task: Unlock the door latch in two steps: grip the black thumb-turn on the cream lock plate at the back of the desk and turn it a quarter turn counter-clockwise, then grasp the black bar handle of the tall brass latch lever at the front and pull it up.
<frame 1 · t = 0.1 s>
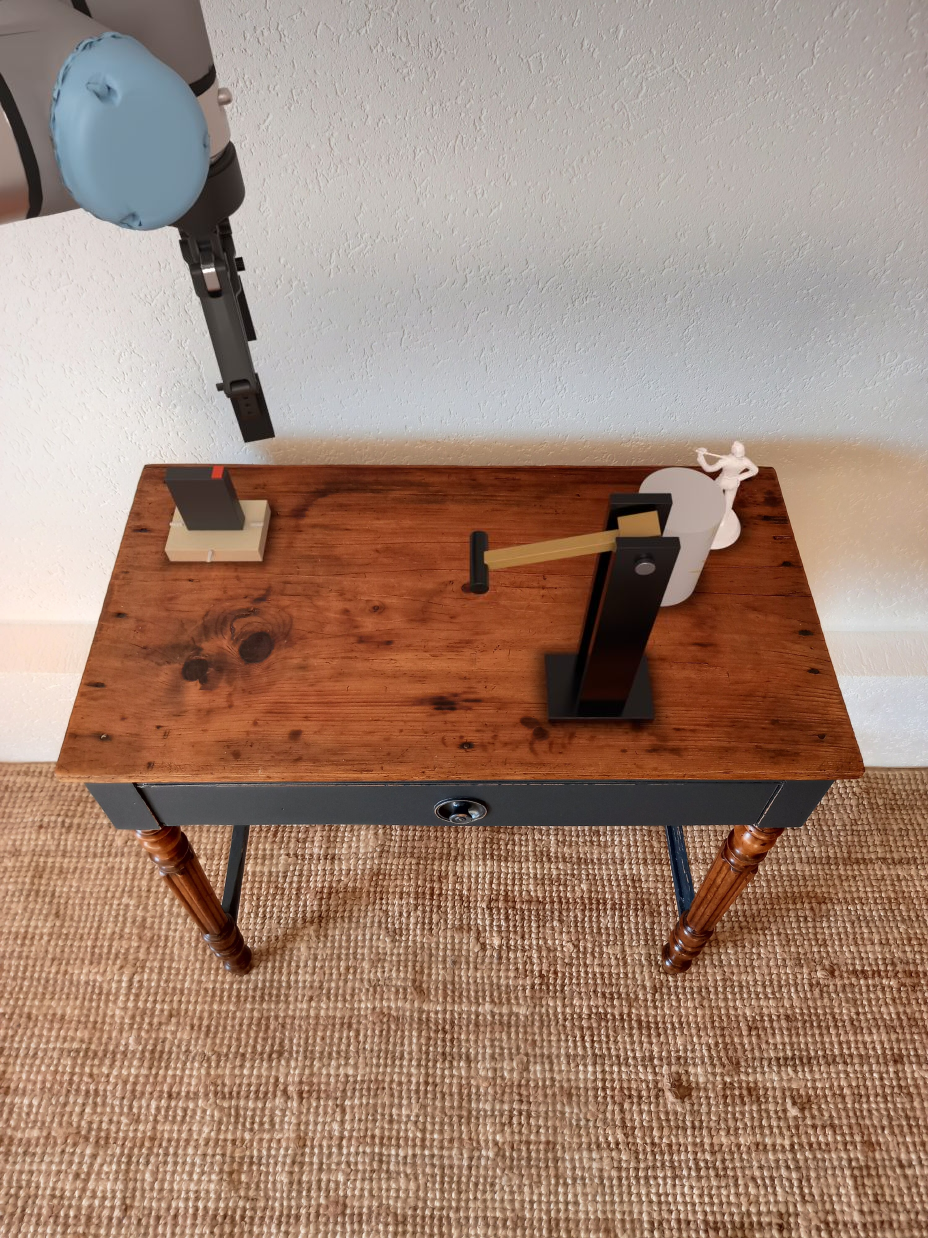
hand: (250, 386, 74), 19 cm above the table, tool pointing down, fingers open, 13 cm apart
thumbturn: (206, 498, 84), point 6 cm above the table, hinge at 0.0°
latch lever: (562, 548, 59), point 23 cm above the table, hinge at -15.0°
lock plate: (221, 536, 89), on the table
figurine: (707, 525, 89), on the table
latch bracket: (596, 691, 78), on the table
light grey cylinder: (657, 575, 85), on the table
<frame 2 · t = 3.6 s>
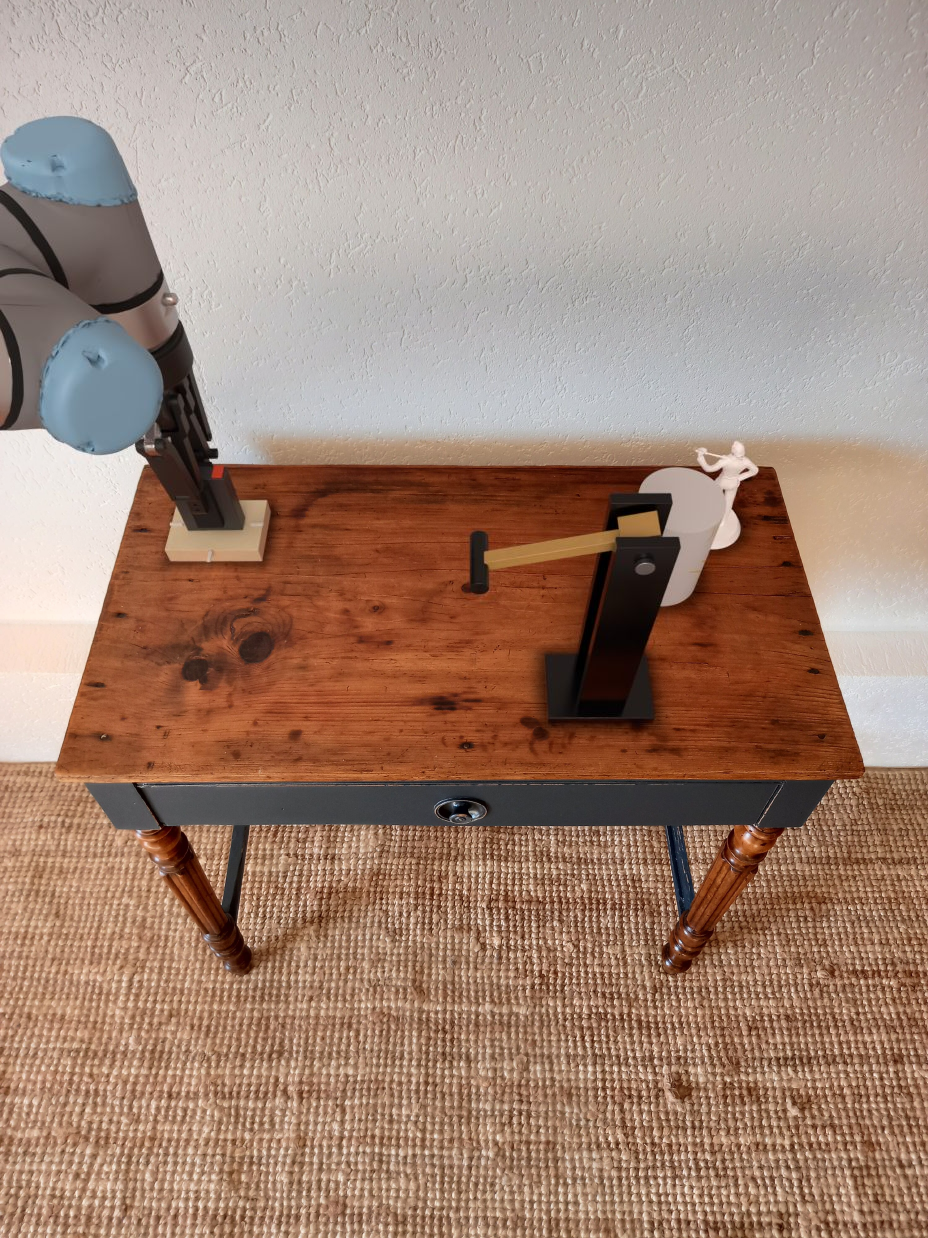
hand: (213, 515, 86), 3 cm above the table, tool pointing down, fingers closed on thumbturn, 2 cm apart
thumbturn: (206, 498, 84), point 6 cm above the table, hinge at 0.9°, touching gripper
everything else where it was.
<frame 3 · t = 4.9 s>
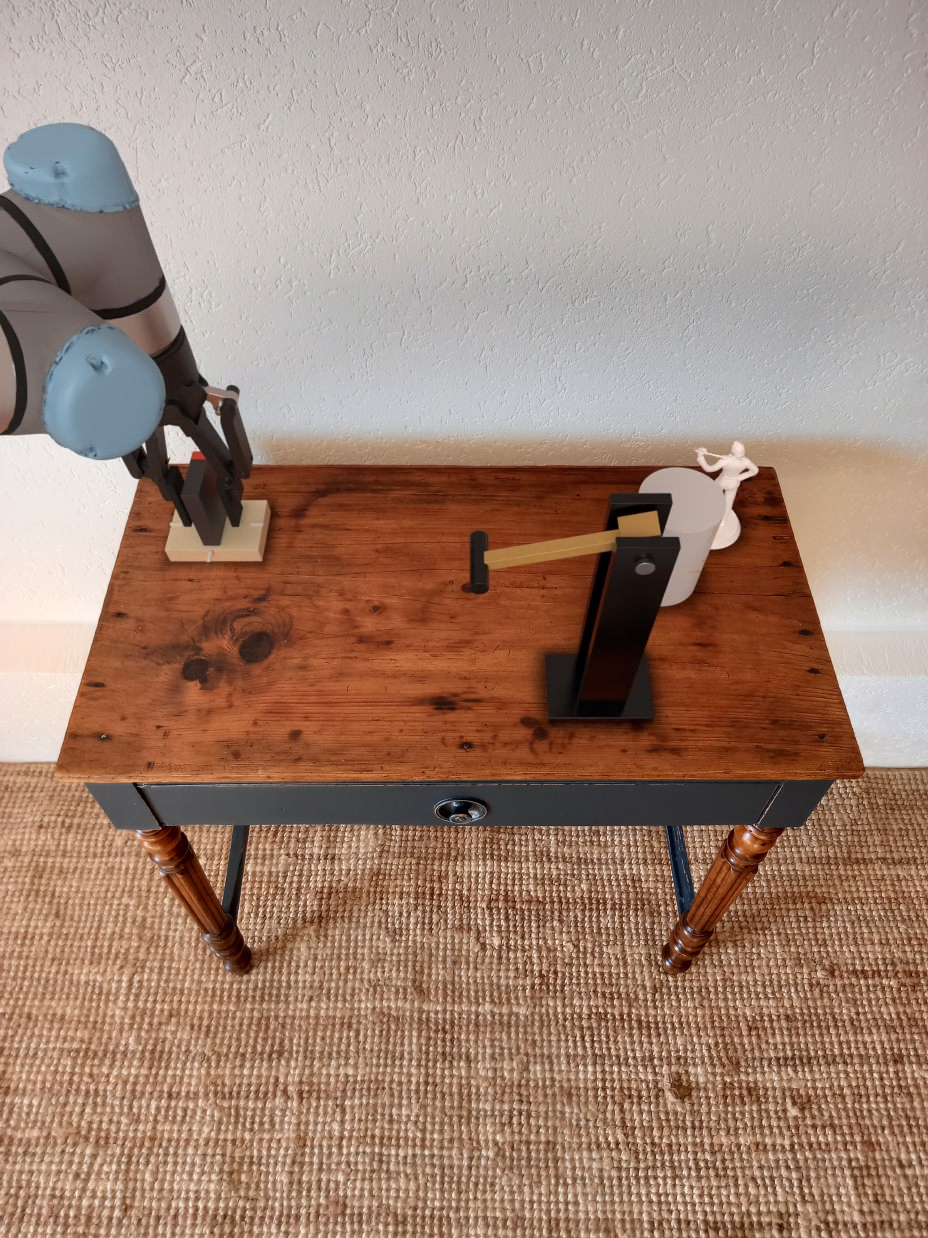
hand: (213, 516, 86), 3 cm above the table, tool pointing down, fingers open, 4 cm apart
thumbturn: (206, 498, 84), point 6 cm above the table, hinge at 89.5°
everything else where it was.
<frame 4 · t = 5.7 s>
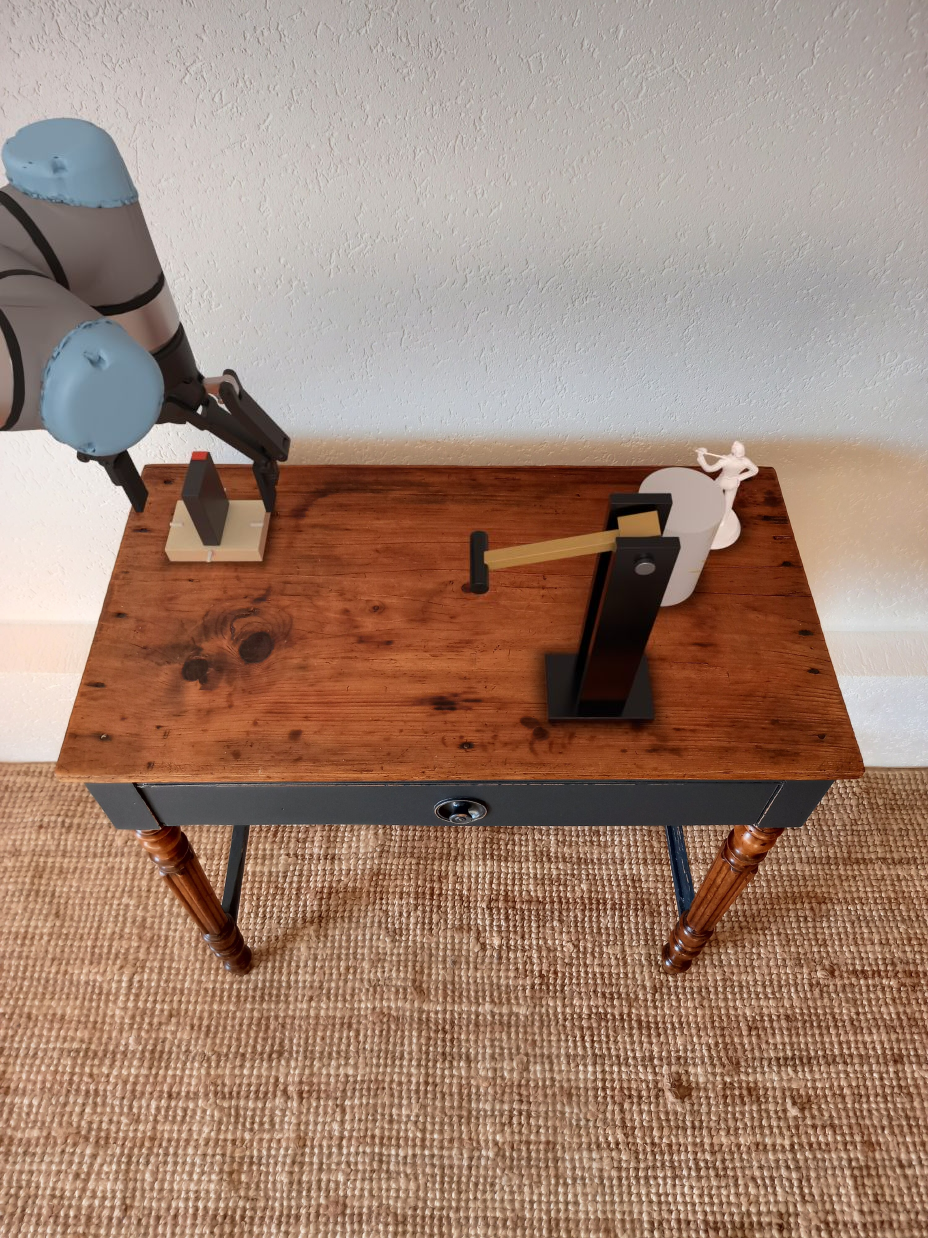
hand: (207, 503, 84), 6 cm above the table, tool pointing down, fingers open, 13 cm apart
nothing on the table moved.
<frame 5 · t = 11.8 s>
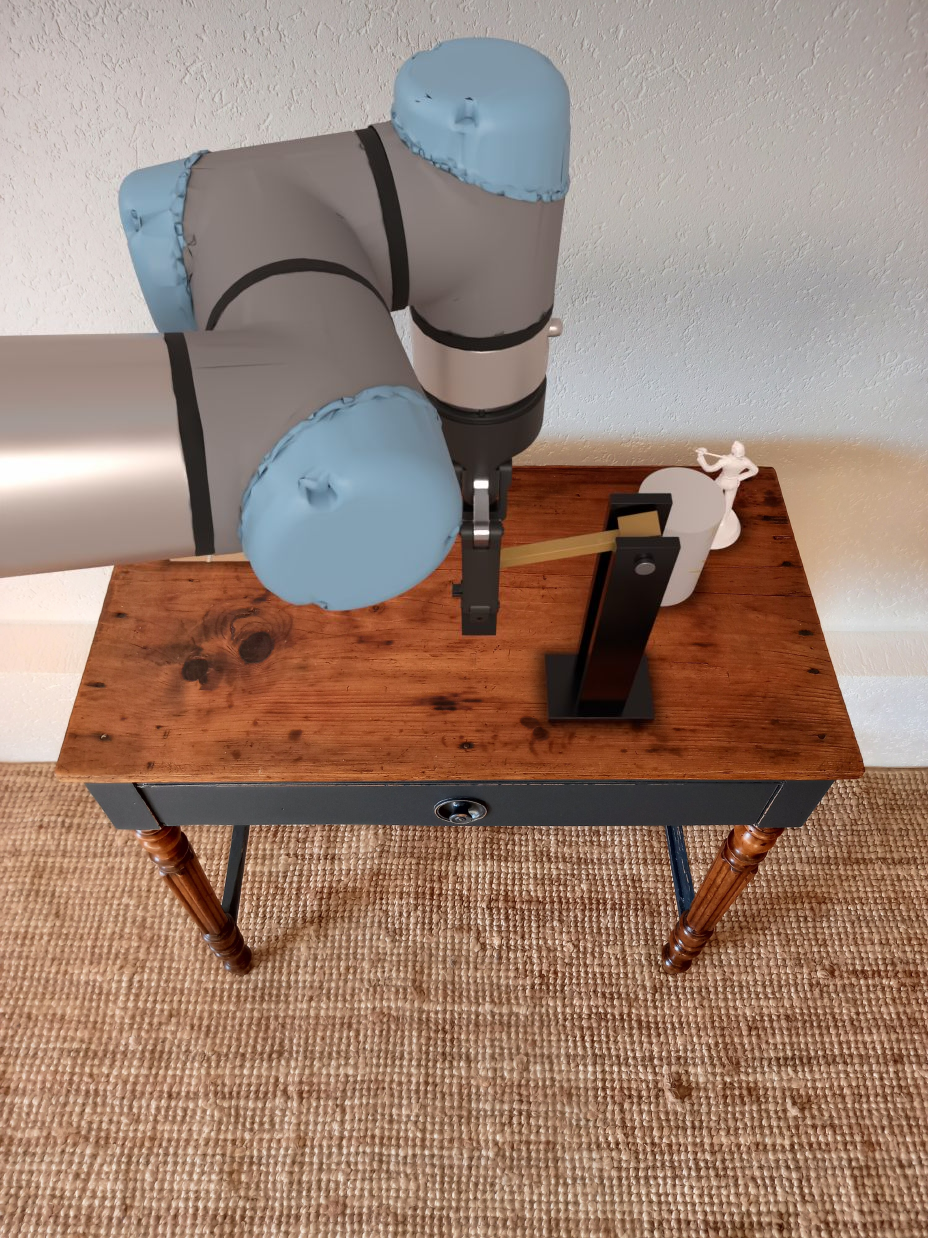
hand: (478, 601, 65), 16 cm above the table, tool pointing down, fingers closed on latch lever, 5 cm apart
latch lever: (562, 548, 59), point 23 cm above the table, hinge at -15.0°, touching gripper
everything else where it was.
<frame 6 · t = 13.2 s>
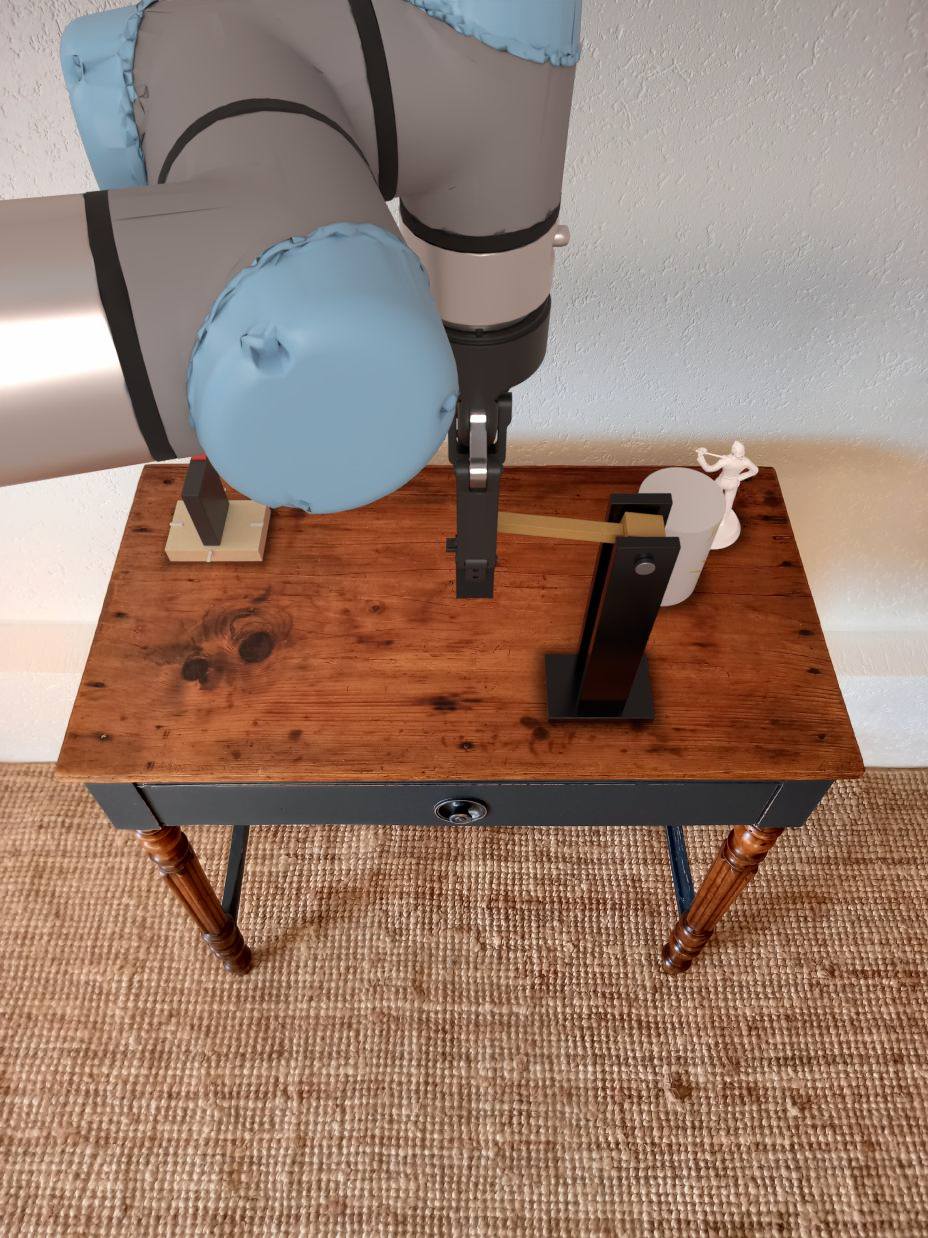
hand: (474, 562, 60), 21 cm above the table, tool pointing down, fingers closed on latch lever, 5 cm apart
latch lever: (563, 528, 57), point 25 cm above the table, hinge at 8.9°, touching gripper
everything else where it was.
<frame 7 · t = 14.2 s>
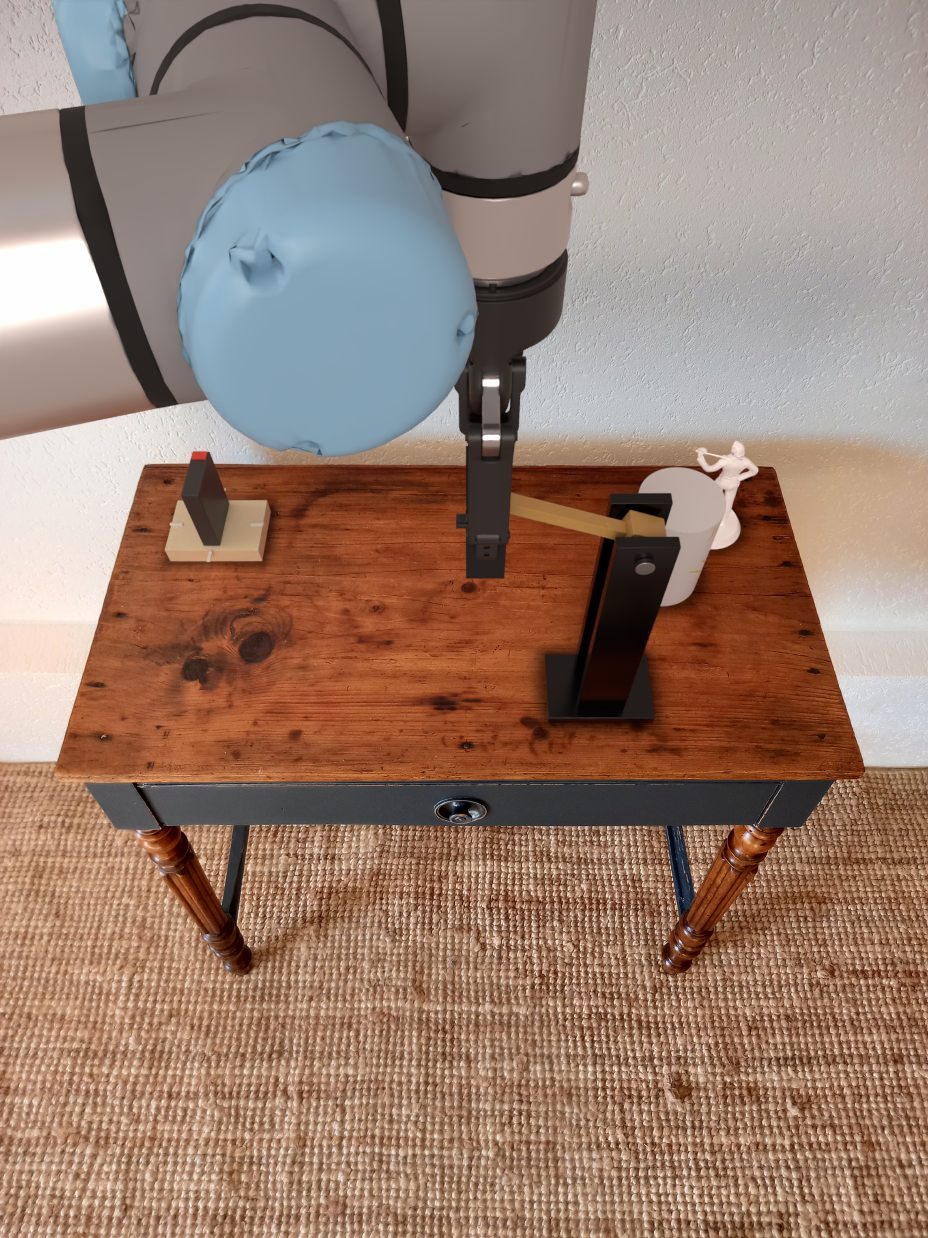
hand: (484, 541, 58), 23 cm above the table, tool pointing down, fingers closed on latch lever, 5 cm apart
latch lever: (569, 518, 56), point 26 cm above the table, hinge at 20.6°, touching gripper
everything else where it was.
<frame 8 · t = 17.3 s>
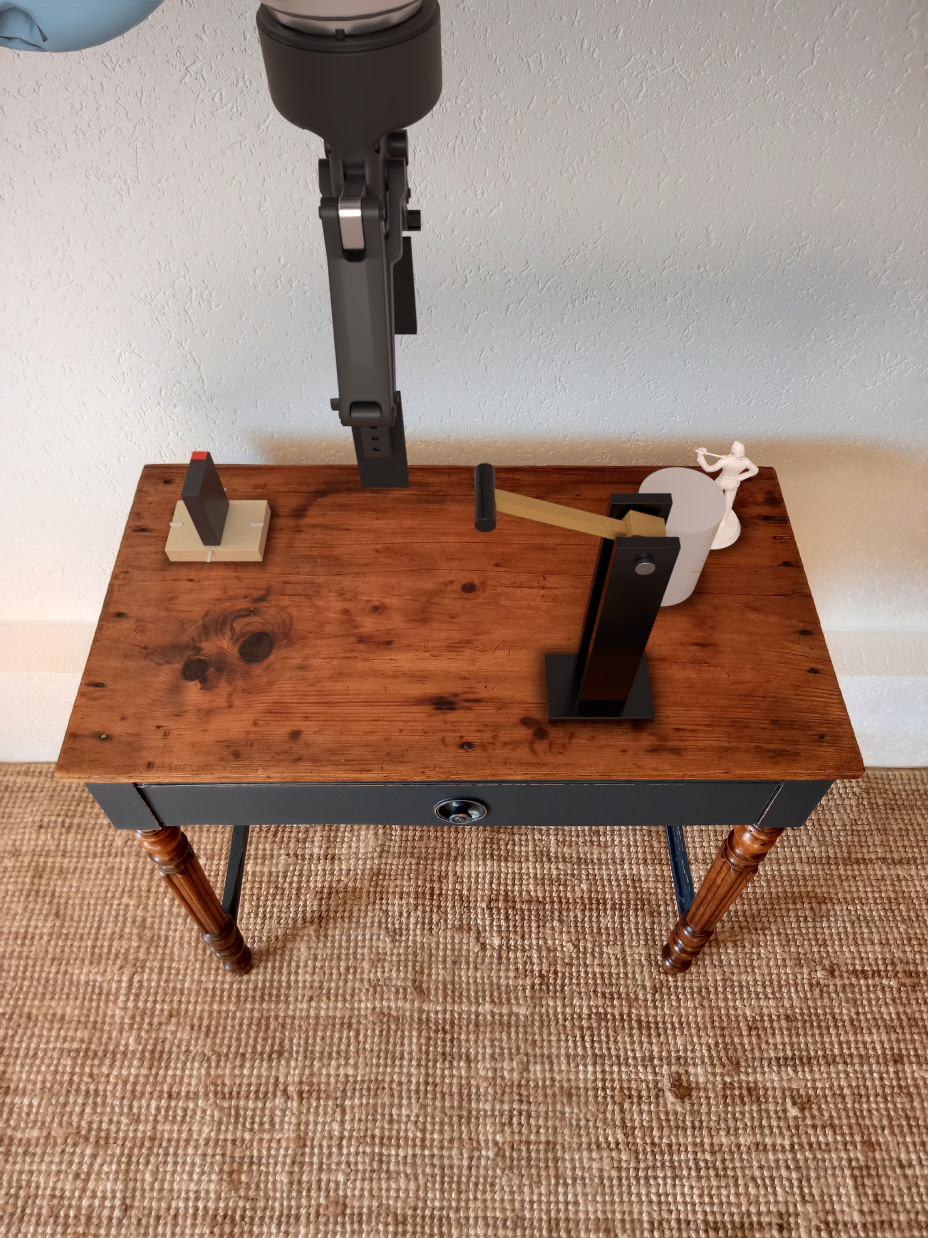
hand: (391, 401, 50), 35 cm above the table, tool pointing down, fingers open, 13 cm apart
latch lever: (569, 518, 56), point 26 cm above the table, hinge at 20.5°
everything else where it was.
at the end: thumbturn at +90° (first picture: +0°); latch lever at +20° (first picture: -15°) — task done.
